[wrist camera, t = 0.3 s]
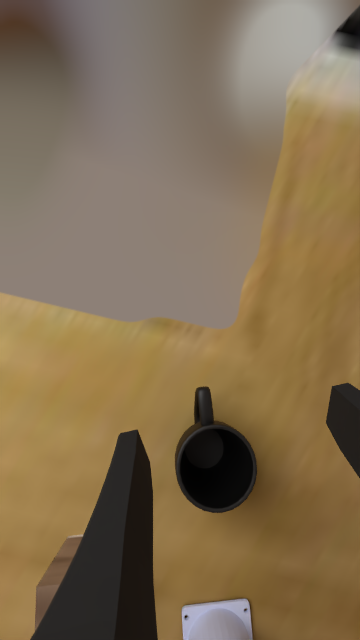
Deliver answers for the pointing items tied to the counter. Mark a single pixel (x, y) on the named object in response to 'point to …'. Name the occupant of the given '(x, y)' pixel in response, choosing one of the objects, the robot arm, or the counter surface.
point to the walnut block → (54, 576)
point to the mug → (214, 461)
